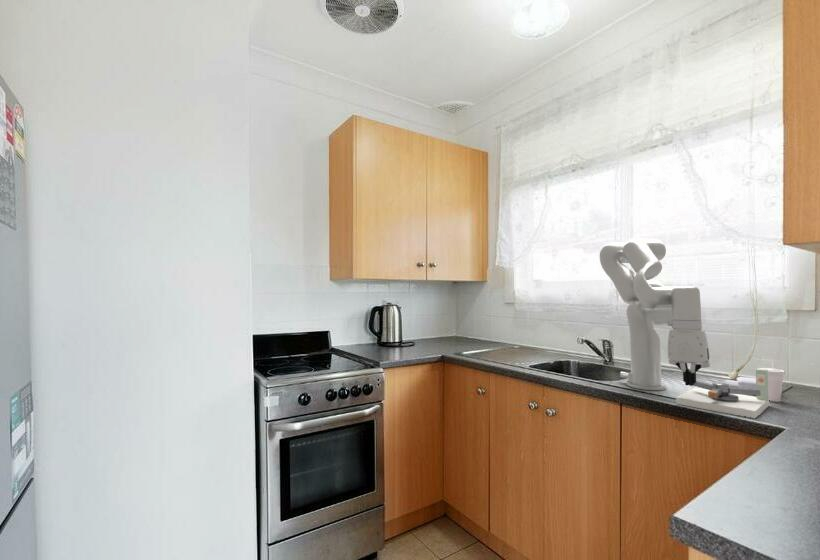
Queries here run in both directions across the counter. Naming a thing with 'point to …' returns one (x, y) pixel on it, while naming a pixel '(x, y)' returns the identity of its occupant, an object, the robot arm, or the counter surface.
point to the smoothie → (775, 382)
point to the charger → (742, 383)
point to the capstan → (725, 391)
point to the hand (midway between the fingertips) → (690, 384)
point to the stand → (742, 407)
